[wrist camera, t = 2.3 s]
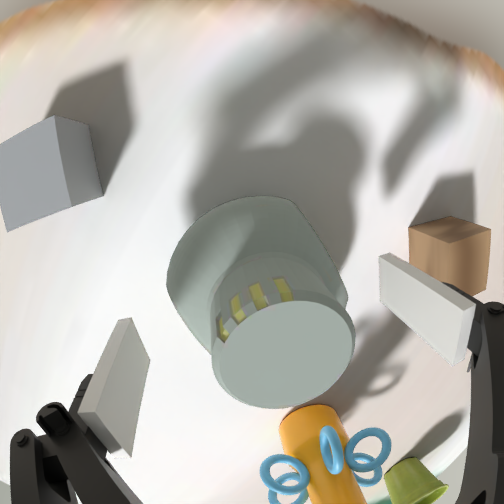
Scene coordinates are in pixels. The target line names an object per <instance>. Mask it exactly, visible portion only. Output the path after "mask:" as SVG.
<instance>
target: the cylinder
mask: <svg viewBox="0 0 504 504" xmlns="http://www.w3.org/2000/svg"><path fill="white" fill-rule="evenodd" d="M279 435H280V439H281V442H282V446H283V450H284V453H285V455H284V454H277V455H272V456H270V457H268V458H266V459H265V460H264V461H263V462H262V464H261V467H260V476H261V479H262V481H263V482H264V484H265V485H266V486H267V487H268V488H269V493H268V499H269V502H270V504H281V503H280V502H279V501H278V500H277V493H279V494H283V495H294V494H298V493H300V492H301V493H300V496H299V497H298V499H297V500H296V501H294V502H293V503H291V504H304V503H305V502H306V500H307V499H308V497H310V500H311V503H312V504H367V503H366V500H365V498H364V496H363V494H362V492H361V489H360V487H359V486H363V487H369V486H373V485H375V484H377V483H378V482H379V481H380V480H381V477H382V468H381V466H380V465H382V464H383V463H384V462H385V460H386V459H387V458H388V456H389V454H390V451H391V439H390V437H389V435H388V434H387V433H386V432H385V431H384V430H382V429H380V428H367V429H364V430H361V431H359V432H358V433H356V434H355V435H354V436H353V437H352V438H351V439H350V440H349V437H348V435H347V433H346V431H345V429H344V427H343V425H342V423H341V421H340V419H339V417H338V415H337V413H336V411H335V410H334V409H333V408H331V407H330V406H327V405H321V404H319V405H309V406H306V407H302V408H300V409H297V410H296V411H294V412H292V413H291V414H289V415H288V416H287V417H286V418H285V419H284V420H283V421H282V422H281V425H280V427H279ZM368 436H376V437H378V438H379V439H380V440H381V442H382V450H381V453H380V454H379V456H378V457H377V458H376V459H374V458H373V457H372V456H370V455H367V454H364V453H353V450H354V448H355V446H356V444H357V443H358V442H359V441H360V440H362V439H363V438H365V437H368ZM355 460H362V461H364V462H366V463H367V464H360V463H358V462H356V461H355ZM275 463H287V464H288V465H289V466H290V467H291V468H292V469H293V470H295V471H296V472H297V473H296V472H290V473H286V474H283V475H281V476H280V477H278V478H277V479H276V480H274V479H273V478H272V477H271V475H270V467H271V466H272V465H273V464H275ZM372 470H374V477H373V478H371V479H363V478H361V477H359V476H358V475H356V474H355V473H354V471H356V472H369V471H372ZM288 480H296V481H298V482H299V483H298V484H297V485H295V486H284V485H282V484H283V483H284V482H286V481H288Z"/></svg>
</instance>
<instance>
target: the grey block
mask: <svg viewBox="0 0 504 504" xmlns="http://www.w3.org/2000/svg"><path fill="white" fill-rule="evenodd" d="M102 196H104V195H103V191H102V187H101V183H100V179H99V175H98V170H97V166H96V161H95V156H94V151H93V146H92V141H91V135H90V130H89V125H88V124H85V123H81V122H78V121H74V120H71V119H67V118H64V117H60V116H56V115H53V116H51V117H49V118H47V119H45V120H43V121H41V122H39V123H37V124H35V125H33V126H31V127H29V128H27V129H26V130H24V131H22V132H20V133H18V134H17V135H15V136H13V137H11V138H10V139H8V140H6V141H5V142H3V143H1V144H0V206H1V211H2V215H3V219H4V222H5V226H6V230H7V232H9V231H11V230H14V229H16V228H19V227H21V226H23V225H26V224H28V223H31V222H33V221H36V220H38V219H41V218H43V217H46V216H49V215H51V214H54V213H57V212H59V211H62V210H65V209H67V208H70V207H73V206H76V205H79V204H82V203H84V202H87V201H90V200H93V199H96V198H99V197H102Z"/></svg>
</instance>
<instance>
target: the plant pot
mask: <svg viewBox="0 0 504 504" xmlns="http://www.w3.org/2000/svg"><path fill="white" fill-rule="evenodd" d="M384 479H385V482H386V485H387V488H388V492H389V495H390V498H391V501H392V504H432V503H433V502H435V501H436V500H437V499H438V498H440V497H441V496H442V495H443V494H444V493H445V492H446V491H447V489H448V487H449V486H448V485H447V484H443V483H442V482H441V481H440V480H438V479H437V478H436V477H435V476H434V475H433V474H432V473H431V472H430V471H429V470H428V469H427V468H426V467H425V466H424V465H423V464H422V463H421V462H420V461H419V460H418V459H417V458H416V457H414V458H407V459H404V460H403V461H401V462H399V463H397V464H396V465H394V466H393V467H392V468H391V470H390V471H389V472H388V473H386V474H385V475H384Z"/></svg>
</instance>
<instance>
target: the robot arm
mask: <svg viewBox="0 0 504 504" xmlns="http://www.w3.org/2000/svg"><path fill="white" fill-rule="evenodd" d="M379 279H380V302H381V303H383V304H384V305H385V306H386V307H387V308H388V309H389V310H391V311H392V312H393V313H394V314H395V315H396V316H397V317H399V318H400V319H401V320H402V321H403V322H404V323H405V324H406V325H408V326H409V327H410V328H411V329H412V330H413V331H414V332H415V333H416V334H417V335H419V336H420V337H421V338H422V339H423V340H424V341H425V342H426V343H427V344H428V345H430V346H431V347H432V348H433V349H434V350H435V351H436V352H437V353H438V354H439V355H440V356H441V357H442V358H444V359H445V360H446V361H447V362H448V363H449V364H450V365H451V366H454V365H456V364H457V363H459V362H461V361H462V360H464V359H465V355H466V351H467V348H468V349H469V350H471V351H472V355H471V359H470V362H469V366H468V369H467V372H469V371H470V368H471V411H470V427H469V439H468V449H467V456H466V463H465V469H464V476H463V481H462V486H461V491H460V494H459V497H458V499H457V501H456V503H455V504H504V304H502V303H499V302H488V303H485V304H483V303H482V302H480V301H479V300H477V299H475V298H474V297H472V296H470V295H469V294H467V293H465V292H464V291H462V290H460V289H459V288H457V287H456V286H454V285H452V284H449V283H445V282H440V281H438V280H436V279H435V278H433V277H431V276H430V275H428V274H426V273H425V272H423V271H421V270H419V269H418V268H416V267H414V266H413V265H411V264H409V263H407V262H406V261H404V260H402V259H400V258H399V257H397V256H395V255H393V254H391V253H388V254H384V255H381V256H379ZM149 364H150V359H149V356H148V354H147V352H146V350H145V348H144V346H143V343H142V341H141V339H140V337H139V334H138V332H137V330H136V327H135V325H134V322H133V320H132V318H126V319H121V320H118V322H117V324H116V326H115V328H114V330H113V332H112V334H111V336H110V338H109V340H108V343H107V345H106V347H105V349H104V351H103V353H102V356H101V358H100V360H99V362H98V364H97V367H96V369H95V371H94V374H88V375H87V376H86V377H85V379H84V380H83V381H82V382H81V384H80V386H79V388H78V391H77V393H76V395H75V398H74V400H73V402H72V404H71V407H70V409H69V412H68V411H67V410H66V409H65V407H64V406H63V405H62V404H61V403H59V402H52V403H49V404H47V405H45V406H44V407H42V408H41V409H40V411H39V412H38V414H37V416H36V422H37V423H38V424H39V426H40V427H41V428H42V429H43V430H44V432H45V433H46V435H42V436H38V437H37V436H36V435H35V434H34V433H33V432H32V431H31V430H30V429H22V430H20V431H18V432H16V433H15V434H14V436H13V437H12V439H11V443H10V487H11V501H12V504H78V501H77V498H76V494H77V495H78V497H79V499H80V501H81V502H82V504H143V503H142V502H141V501H140V500H139V498H138V497H137V496H136V495H135V494H134V493H133V491H132V490H131V489H130V488H129V487H128V485H127V484H126V483H125V482H124V480H123V479H122V478H121V477H120V475H119V474H118V473H117V471H116V470H115V469H114V467H113V466H112V465H111V463H110V462H109V461H108V460H107V459H106V458H105V457H106V453H107V450H108V452H109V453H110V454H111V455H112V456H113V457H114V458H131V457H132V450H133V444H134V438H135V433H136V427H137V422H138V416H139V411H140V406H141V401H142V396H143V391H144V386H145V382H146V377H147V372H148V368H149ZM75 492H76V494H75Z"/></svg>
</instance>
